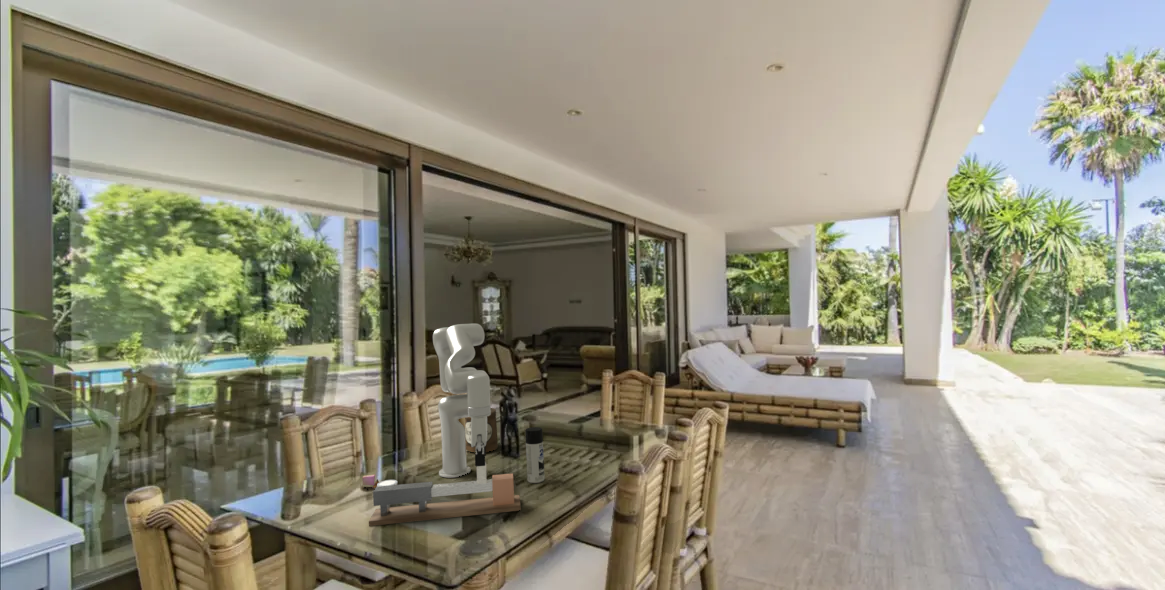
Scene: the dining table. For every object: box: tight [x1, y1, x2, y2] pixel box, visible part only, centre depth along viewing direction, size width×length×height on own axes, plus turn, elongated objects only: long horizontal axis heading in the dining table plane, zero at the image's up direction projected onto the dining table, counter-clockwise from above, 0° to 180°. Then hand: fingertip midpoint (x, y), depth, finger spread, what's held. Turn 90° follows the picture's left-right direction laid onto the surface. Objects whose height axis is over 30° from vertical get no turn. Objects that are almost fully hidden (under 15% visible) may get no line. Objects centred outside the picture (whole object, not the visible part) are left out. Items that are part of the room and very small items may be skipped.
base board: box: [368, 494, 522, 527], centre depth 173 cm, size 10×48×2 cm, turn 99°
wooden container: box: [464, 407, 499, 453], centre depth 245 cm, size 15×15×22 cm
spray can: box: [524, 426, 546, 484], centre depth 200 cm, size 7×7×20 cm
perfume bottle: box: [361, 474, 380, 490], centre depth 200 cm, size 12×12×4 cm
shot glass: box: [377, 479, 398, 506], centre depth 183 cm, size 7×7×7 cm
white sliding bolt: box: [431, 461, 493, 498], centre depth 174 cm, size 4×27×9 cm, turn 99°
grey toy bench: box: [372, 481, 433, 516], centre depth 171 cm, size 5×18×8 cm, turn 99°
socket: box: [491, 472, 515, 506], centre depth 176 cm, size 5×7×8 cm
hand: (480, 461), depth 175 cm, fingers open, 9 cm apart
